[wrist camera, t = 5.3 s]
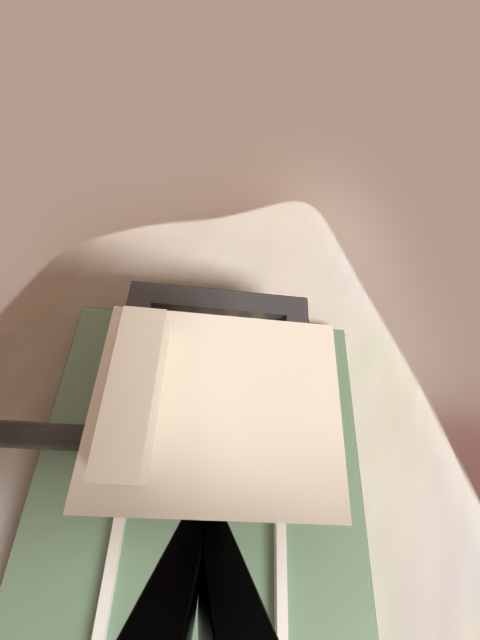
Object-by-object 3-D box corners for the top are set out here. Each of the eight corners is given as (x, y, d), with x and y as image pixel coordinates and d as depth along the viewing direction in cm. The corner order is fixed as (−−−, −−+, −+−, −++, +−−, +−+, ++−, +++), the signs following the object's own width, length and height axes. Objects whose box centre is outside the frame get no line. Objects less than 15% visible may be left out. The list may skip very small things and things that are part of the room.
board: (410, 1060, 9) (446, 1158, 8) (-139, 1121, 8) (-207, 1251, 7) (336, 337, 19) (347, 326, 18) (88, 315, 18) (79, 302, 17)
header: (294, 441, 15) (315, 432, 13) (118, 431, 15) (100, 419, 12) (290, 325, 18) (307, 297, 15) (141, 312, 17) (131, 280, 15)
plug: (262, 501, 14) (379, 532, 5) (-13, 490, 13) (-474, 504, 4) (263, 406, 16) (350, 304, 7) (21, 390, 15) (-243, 247, 6)
